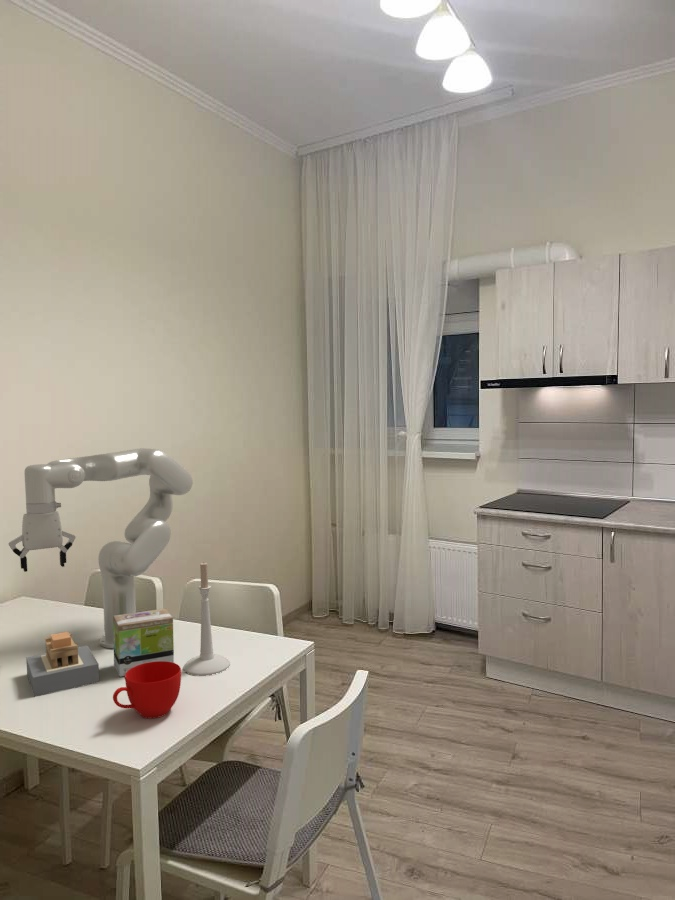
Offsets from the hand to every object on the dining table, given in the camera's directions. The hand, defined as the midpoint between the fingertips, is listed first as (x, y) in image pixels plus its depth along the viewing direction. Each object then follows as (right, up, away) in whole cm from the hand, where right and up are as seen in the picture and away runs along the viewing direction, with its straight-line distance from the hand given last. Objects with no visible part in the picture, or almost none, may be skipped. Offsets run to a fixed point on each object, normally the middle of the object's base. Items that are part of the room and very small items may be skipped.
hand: (44, 568), depth 185 cm
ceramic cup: (+38, -30, -29) cm, 56 cm away
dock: (+8, -29, -7) cm, 31 cm away
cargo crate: (+8, -20, -8) cm, 23 cm away
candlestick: (+46, -28, -1) cm, 54 cm away
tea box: (+28, -28, 0) cm, 40 cm away
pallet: (+8, -24, -7) cm, 26 cm away
